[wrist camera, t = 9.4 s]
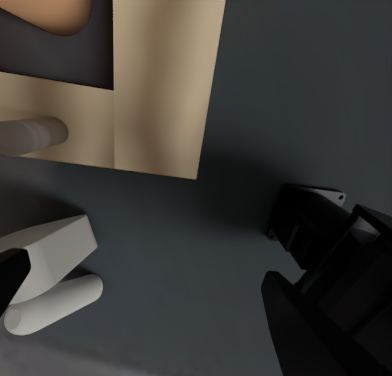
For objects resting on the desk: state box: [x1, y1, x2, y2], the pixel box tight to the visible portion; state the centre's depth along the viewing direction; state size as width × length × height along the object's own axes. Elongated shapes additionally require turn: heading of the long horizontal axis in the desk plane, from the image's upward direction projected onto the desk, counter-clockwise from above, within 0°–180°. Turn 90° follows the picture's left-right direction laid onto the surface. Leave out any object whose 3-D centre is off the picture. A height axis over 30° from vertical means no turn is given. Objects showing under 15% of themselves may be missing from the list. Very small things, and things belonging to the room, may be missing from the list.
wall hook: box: [0, 214, 103, 335], centre depth 18 cm, size 8×10×10 cm
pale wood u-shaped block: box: [0, 0, 225, 179], centre depth 12 cm, size 18×16×6 cm
